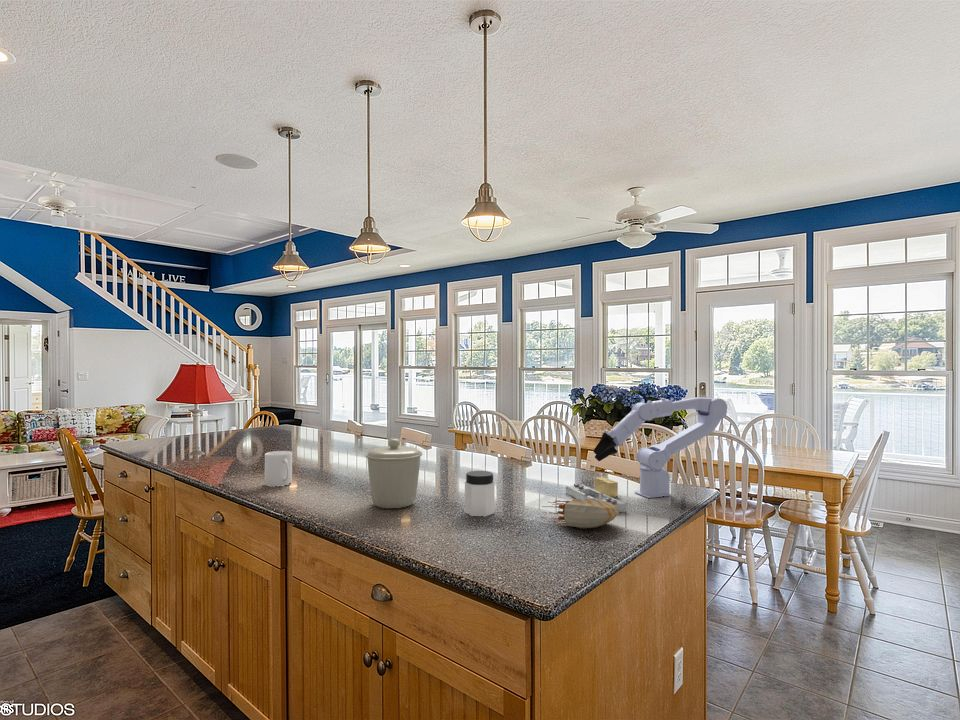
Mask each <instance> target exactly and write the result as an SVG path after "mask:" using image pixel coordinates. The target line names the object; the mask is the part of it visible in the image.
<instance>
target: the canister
mask: <svg viewBox="0 0 960 720" xmlns="http://www.w3.org/2000/svg"><path fill="white" fill-rule="evenodd" d="M400 442H401V441H400V440H399V439H398V438H391V439H389V441H388V446H387V445H386V446H379V447H375V448H372V449H371V450H369V451H367V452H366V453H365V454H364V456H365V457H366V458H367V459H366V461H367V469H368V477H369V479H368V481H369V486H370V487H369V488H370V494H371V499H372V503H373V504H374V505H375V507H377V506H378V508H380V507H382V508H381V509H384V508H398V509H402V508H401V507H404V508H407V507H406V506H408V507H409V505H410V506H411V505H412V504H414V502H415V501H416V498H417V497H416V496H417V491H418V484H419V483H418V482H419V476H420V475H419V474H420V467H421V466H420V465H421V458H422V457H421V456H423V454H424V453H423V452H422V451H420V449H418V448H416V447H414V446H413V447H412V446H407V445H400Z"/></svg>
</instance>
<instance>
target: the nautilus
mask: <svg viewBox="0 0 960 720" xmlns="http://www.w3.org/2000/svg"><path fill="white" fill-rule="evenodd" d="M547 503H550V504H551V505H553V506H551V505H546V506H545V505H543V506H542V505H541V507H544V508H557V512H550V514H553V515H554V514H555V515H556V516H558V517H554V518H552V519H551V520H549V521H547V523H550V522H553V523H556V526H559V525H560V526H562V525H565V527H566V526H567V527H575V528H578V529H581V530H582V529H583V530H584V529H587V528H588V529H595V528H599V527H601V526H603V525H605V524H608V523H610V522H612V521H614V520H615V518H616V517H617V516H618V515H619V511H618V510H617V508H616V506H615V505H613V504H611V503H609V502H606V501H603V500H602V499H601V500H600V499H599V500H596V499H587V498H586V499H576V498H574V499H572V500H555V501H552V502H550V501H547ZM555 505H556V506H555ZM543 514H546V512H543ZM560 515H561V516H560ZM540 518H542V519H546V517H543V516H541V517H540Z"/></svg>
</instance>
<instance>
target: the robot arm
mask: <svg viewBox="0 0 960 720" xmlns="http://www.w3.org/2000/svg"><path fill="white" fill-rule="evenodd" d="M686 410H696V413H697V422H696V423H695V424H692V425H691V426H689V427H687V428H686V429H684V430H682V431H680V432H679V433H678V432H677V433H676V434H675V435H672V436H671V437H669V438H668V439H666V440H664V441H663V442H661V443H656V444H652V445H650V446H647V447H646V446H645V447H641V448H639V450H638V451H637V452H636V453H637V454H636V460H637V461H638V463H639V490H635V491H634V494H637V495H639V496H642V497H645V498H647V499H651V498H652V499H653V498H661V497H662V498H663V496H664V497H671V496H672V494H670V493H671V492H670V488H671V487H670V485H671V484H670V483H671V482H670V481H671V480H670V474H669V472H668V470H667V469H666V468H664V466H665V465H666V464H667V463H668V462H670V461H671V457H672V456H673V455H675V454H677V453H679V452H681V451H682V450H684V449H686V448H688V447H689V446H691V445H693V444H695V443H697V442H698V441H700V440H701V439H703V438H705V437H707V436H709V435H711V434H712V433H713V432H714V431H715V430H716V428H717V427H718V425H719V423H721V421H722V420H724V418H725V417H727V413H728V404H727V402H726V401H725V400H724V399H723V398H714V397H713V398H712V397H708V396H702V397H701V396H700V397H699V396H696V397H690V398H685V399H681V400H674V401H671V400H670V399H668V398H665V397H660V399H658V400H653V401H652V400H647V402H642V401H641V402H637V403H634V404H633V405H632V407H631V410H630V412H629V413H627V414H626V415H625V416H624V417H623V418H622V419H621V420H620V421H619V422H618V423H617V424H616V425H615V426H614V427H613V428H612V429H611V430H608V429H606V430H605V431H603V432H602V435H601V438H600V440H599V442H598V443H597V445H596V446H595V447H594V448H593V450H592V452H593V453H594V454H595V455H594V459H596V460H597V461H598V462H601V461H603V460H604V459H606V458H608V457H609V456H611V455H616V454H617V453H618V450H617V449H616V448H617V447H621V446H623V443H624V442H625V441H627V440H628V439H629V438H630V437H631V436H632V435H633V434H634V433H635V432H636V431H637V430H638V429H639V428H640V427H641V426H642V425H643V424H645V422H646V421H653V419H656V418H657V419H658V418H663V417H668V416H669V417H670V416H672V415H673V413H674V412H677V411H686Z"/></svg>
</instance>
